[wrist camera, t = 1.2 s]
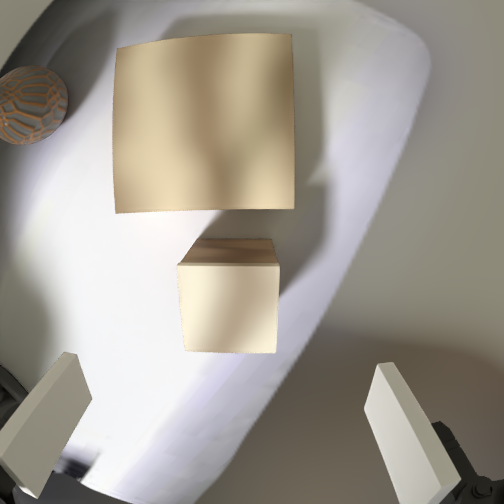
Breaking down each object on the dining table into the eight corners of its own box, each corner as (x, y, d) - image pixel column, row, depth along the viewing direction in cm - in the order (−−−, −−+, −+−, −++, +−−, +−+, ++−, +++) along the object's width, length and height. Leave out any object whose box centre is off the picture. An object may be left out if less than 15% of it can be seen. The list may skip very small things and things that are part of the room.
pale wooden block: (200, 306, 26) (185, 351, 20) (196, 238, 25) (176, 265, 18) (269, 307, 26) (275, 352, 20) (272, 238, 25) (279, 266, 18)
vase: (81, 66, 20) (23, 39, 12) (79, 137, 22) (14, 131, 14) (27, 86, 20) (-32, 73, 12) (25, 151, 22) (-38, 154, 14)
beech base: (139, 204, 24) (115, 214, 19) (139, 66, 21) (116, 48, 16) (286, 201, 24) (295, 209, 19) (284, 57, 21) (292, 33, 16)
